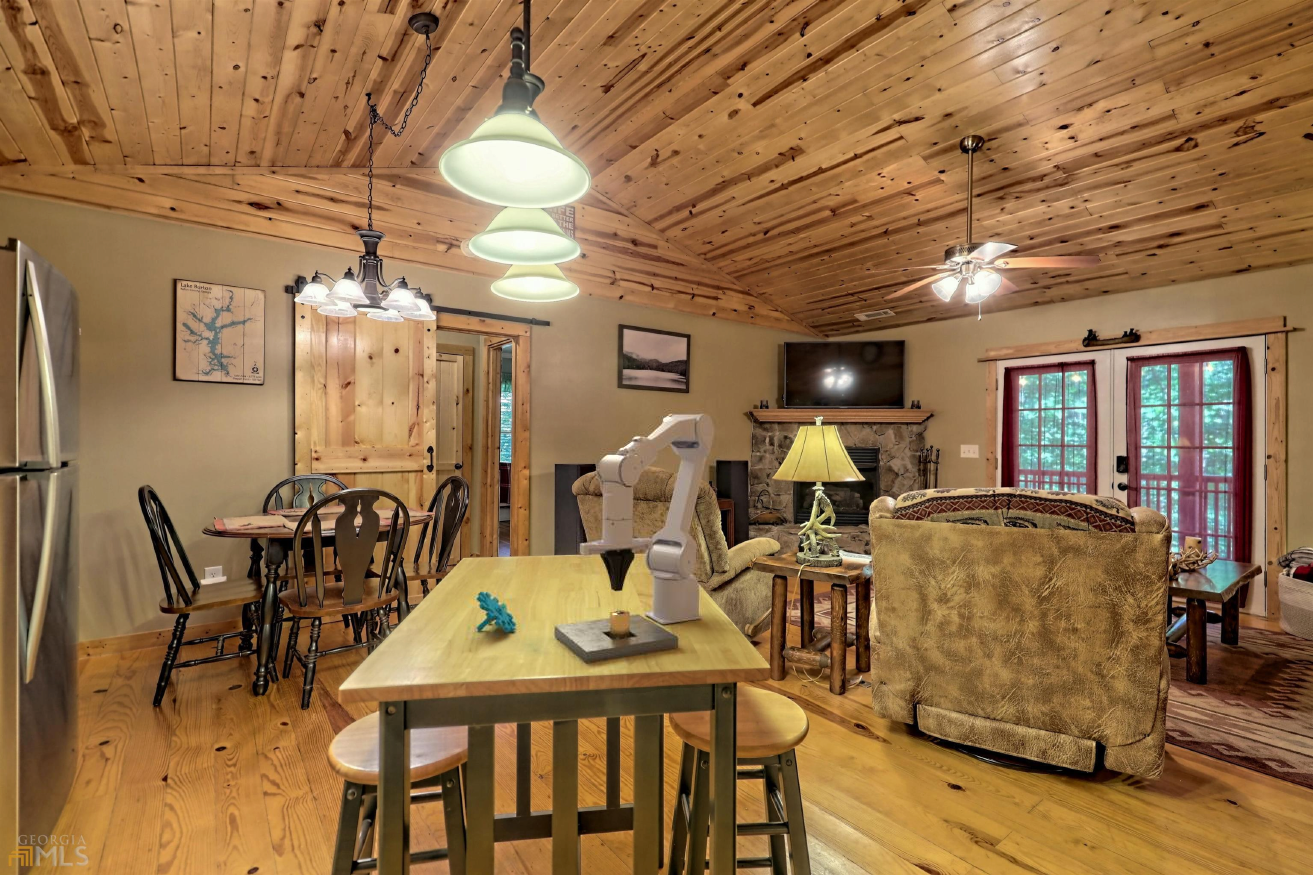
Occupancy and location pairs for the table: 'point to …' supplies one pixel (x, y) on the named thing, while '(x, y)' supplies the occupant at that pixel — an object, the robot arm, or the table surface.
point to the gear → (495, 613)
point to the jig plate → (597, 646)
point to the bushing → (619, 624)
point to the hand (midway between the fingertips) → (616, 589)
